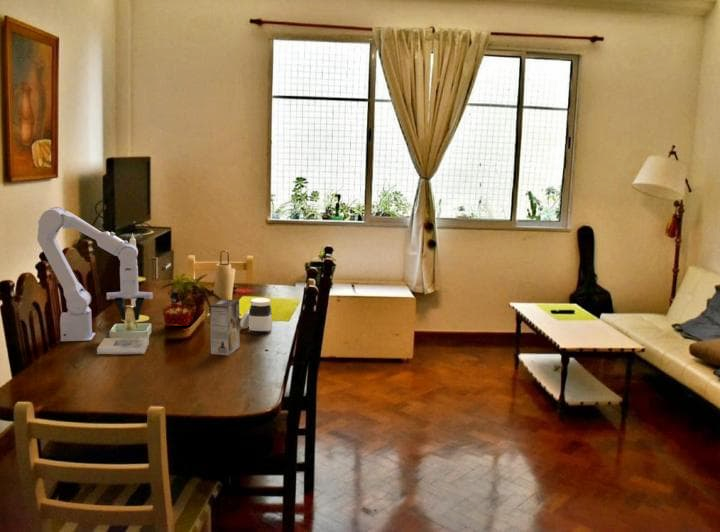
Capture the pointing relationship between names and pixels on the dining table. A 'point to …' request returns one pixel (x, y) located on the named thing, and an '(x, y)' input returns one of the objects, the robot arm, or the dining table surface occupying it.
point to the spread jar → (258, 317)
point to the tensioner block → (123, 346)
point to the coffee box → (224, 326)
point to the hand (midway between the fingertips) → (130, 319)
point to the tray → (141, 331)
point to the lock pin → (130, 318)
